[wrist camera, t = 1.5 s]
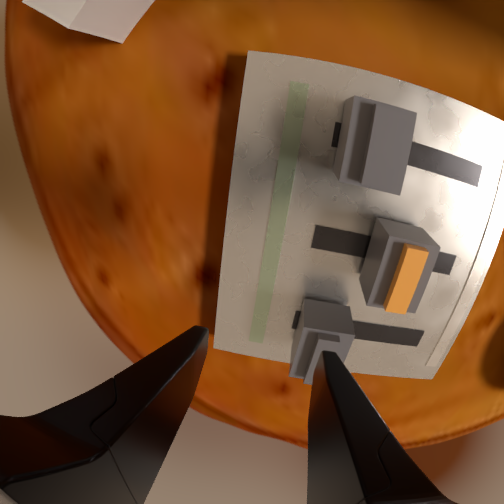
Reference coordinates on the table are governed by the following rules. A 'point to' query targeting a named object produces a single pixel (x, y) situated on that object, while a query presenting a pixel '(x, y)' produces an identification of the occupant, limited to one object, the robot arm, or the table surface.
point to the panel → (351, 215)
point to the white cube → (95, 15)
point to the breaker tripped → (397, 266)
